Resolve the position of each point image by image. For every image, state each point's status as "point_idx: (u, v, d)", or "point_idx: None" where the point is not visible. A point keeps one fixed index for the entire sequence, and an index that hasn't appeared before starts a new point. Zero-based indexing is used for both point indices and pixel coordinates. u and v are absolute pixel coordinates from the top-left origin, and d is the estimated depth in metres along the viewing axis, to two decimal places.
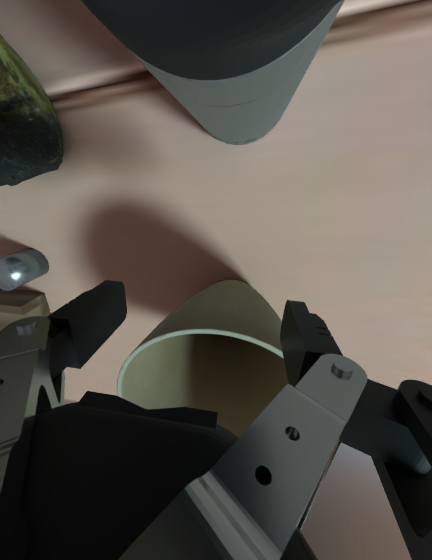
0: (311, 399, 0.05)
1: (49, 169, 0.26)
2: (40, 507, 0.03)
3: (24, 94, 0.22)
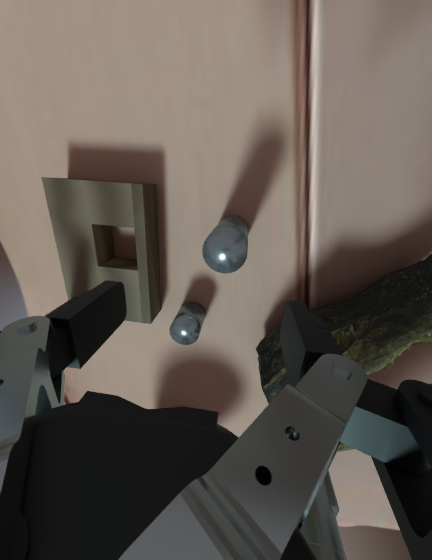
0: (311, 399, 0.05)
1: None
2: (40, 507, 0.03)
3: None
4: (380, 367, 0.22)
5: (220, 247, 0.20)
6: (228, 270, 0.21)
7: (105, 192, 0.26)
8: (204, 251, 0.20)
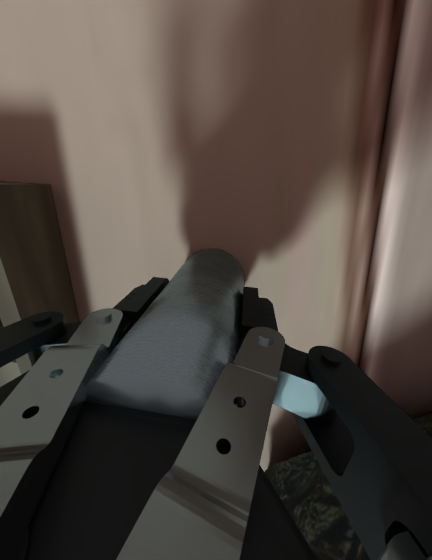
0: (248, 369, 0.05)
1: None
2: (40, 507, 0.03)
3: None
4: None
5: None
6: None
7: None
8: None
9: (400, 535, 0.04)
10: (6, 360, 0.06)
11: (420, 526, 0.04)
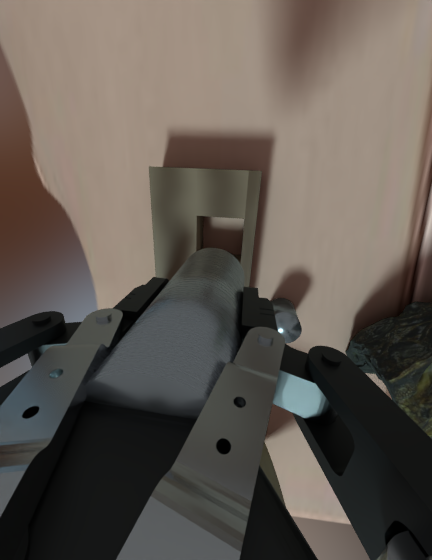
0: (248, 369, 0.05)
1: (348, 353, 0.33)
2: (40, 507, 0.03)
3: None
4: None
5: None
6: None
7: (218, 180, 0.24)
8: None
9: (400, 535, 0.04)
10: (6, 360, 0.06)
11: (420, 526, 0.04)
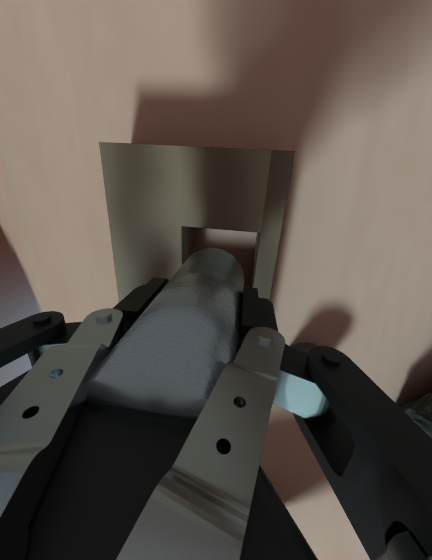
0: (248, 369, 0.05)
1: None
2: (40, 507, 0.03)
3: None
4: None
5: None
6: None
7: (217, 167, 0.14)
8: None
9: (400, 535, 0.04)
10: (6, 360, 0.06)
11: (420, 526, 0.04)
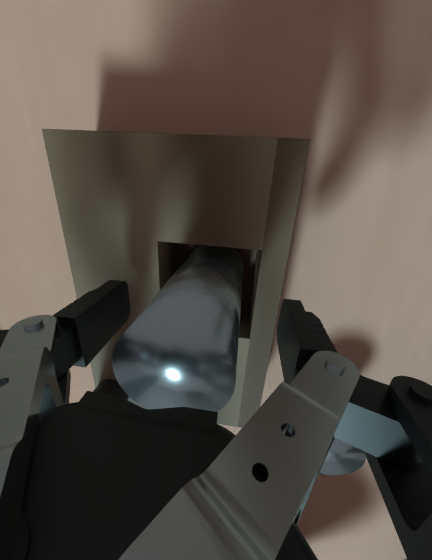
0: (306, 396, 0.05)
1: None
2: (40, 507, 0.03)
3: None
4: None
5: (159, 364, 0.07)
6: None
7: (203, 163, 0.10)
8: (118, 369, 0.07)
9: None
10: None
11: None
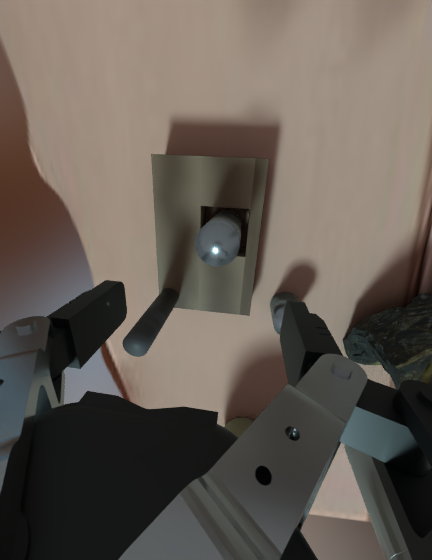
0: (311, 399, 0.05)
1: (345, 342, 0.33)
2: (40, 507, 0.03)
3: None
4: None
5: (212, 240, 0.20)
6: (221, 263, 0.21)
7: (223, 168, 0.23)
8: (196, 244, 0.20)
9: None
10: None
11: None
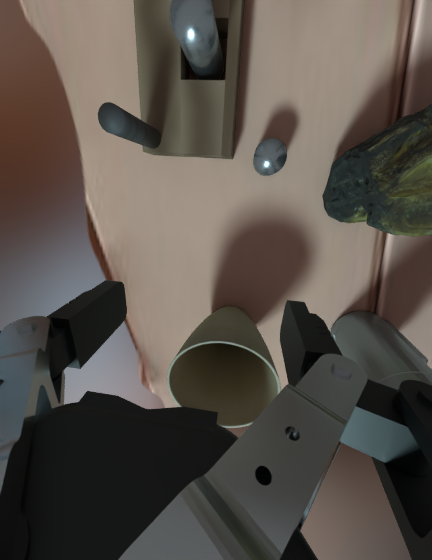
0: (311, 399, 0.05)
1: (325, 194, 0.33)
2: (40, 507, 0.03)
3: None
4: None
5: (186, 8, 0.20)
6: (195, 38, 0.21)
7: None
8: (171, 16, 0.21)
9: None
10: None
11: None
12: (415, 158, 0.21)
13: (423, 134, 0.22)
